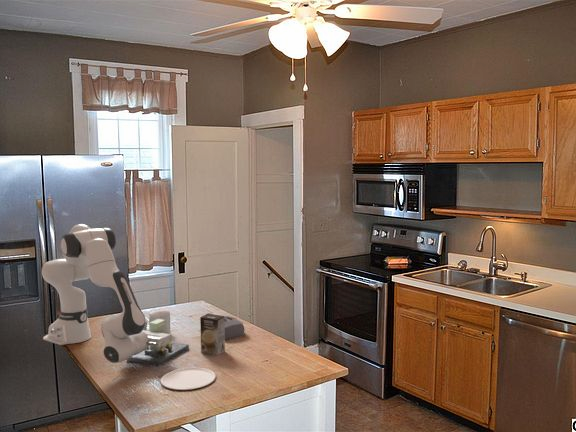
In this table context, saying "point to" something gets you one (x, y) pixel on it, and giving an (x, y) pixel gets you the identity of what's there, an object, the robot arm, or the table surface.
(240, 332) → the soft grey pack
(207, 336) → the coffee box
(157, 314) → the photo printer
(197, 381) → the plate
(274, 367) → the table surface
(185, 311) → the table surface
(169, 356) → the chassis
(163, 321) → the block
